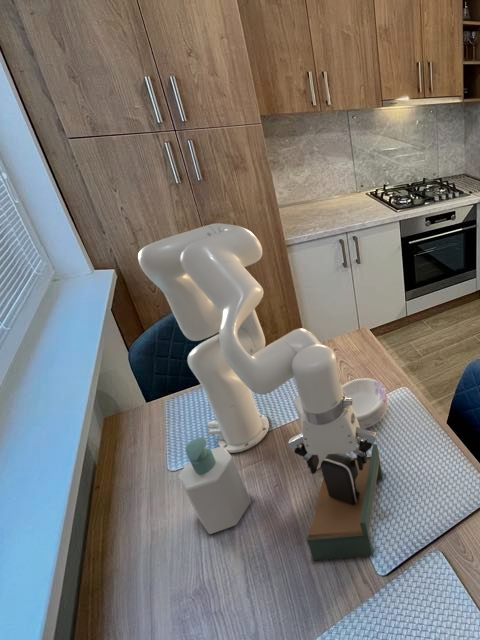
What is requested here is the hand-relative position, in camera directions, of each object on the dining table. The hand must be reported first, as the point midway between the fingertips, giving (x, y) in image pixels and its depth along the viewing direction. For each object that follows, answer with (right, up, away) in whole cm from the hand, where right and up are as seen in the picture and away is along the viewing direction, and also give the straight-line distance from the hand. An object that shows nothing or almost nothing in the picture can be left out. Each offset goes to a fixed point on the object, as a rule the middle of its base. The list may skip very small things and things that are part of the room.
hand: (339, 465), depth 84 cm
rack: (+1, -14, +7) cm, 16 cm away
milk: (-10, -8, +21) cm, 25 cm away
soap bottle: (-28, -15, +8) cm, 33 cm away
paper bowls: (-3, -3, +32) cm, 32 cm away
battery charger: (0, -8, +4) cm, 9 cm away
